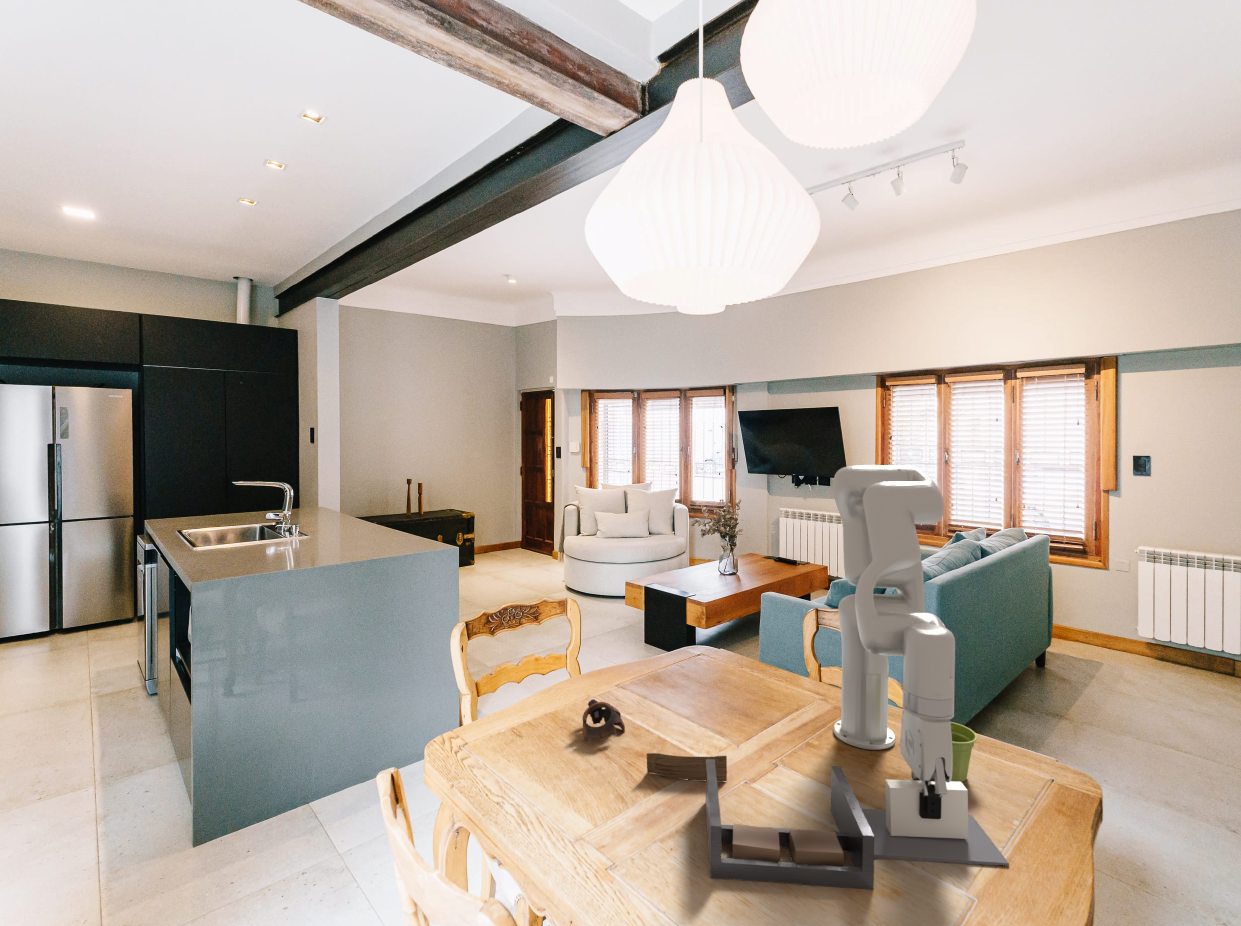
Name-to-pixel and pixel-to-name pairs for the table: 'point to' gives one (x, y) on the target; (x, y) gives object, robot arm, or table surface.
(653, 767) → the wood plank
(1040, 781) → the table surface
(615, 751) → the table surface
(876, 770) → the table surface
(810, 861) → the offcut
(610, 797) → the table surface
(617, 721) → the pottery mug
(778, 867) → the rack
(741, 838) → the offcut
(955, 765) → the plant pot
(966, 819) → the white rectangular brick
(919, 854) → the mat
